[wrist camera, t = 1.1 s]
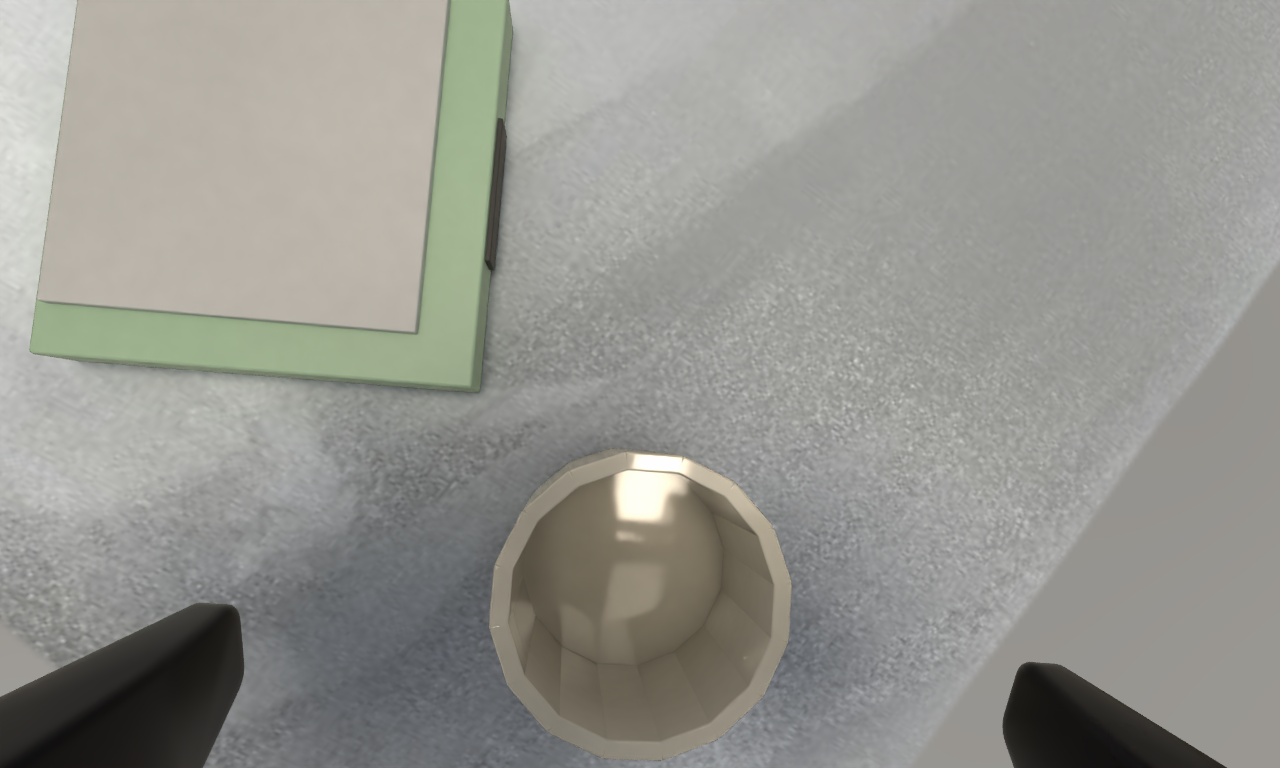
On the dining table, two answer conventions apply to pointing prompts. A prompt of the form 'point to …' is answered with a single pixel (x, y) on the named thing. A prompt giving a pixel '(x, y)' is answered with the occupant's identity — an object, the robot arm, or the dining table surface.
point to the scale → (279, 188)
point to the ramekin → (639, 604)
